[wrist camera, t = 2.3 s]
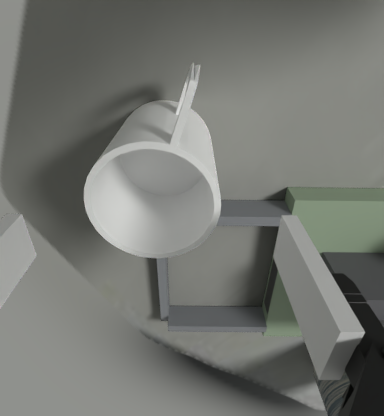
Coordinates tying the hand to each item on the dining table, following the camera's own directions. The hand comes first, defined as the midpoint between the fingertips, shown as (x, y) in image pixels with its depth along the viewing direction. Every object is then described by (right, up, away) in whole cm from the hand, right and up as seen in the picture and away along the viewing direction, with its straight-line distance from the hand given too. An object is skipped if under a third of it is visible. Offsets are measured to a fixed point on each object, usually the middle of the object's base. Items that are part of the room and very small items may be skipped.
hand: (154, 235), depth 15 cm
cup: (0, +8, +10) cm, 13 cm away
